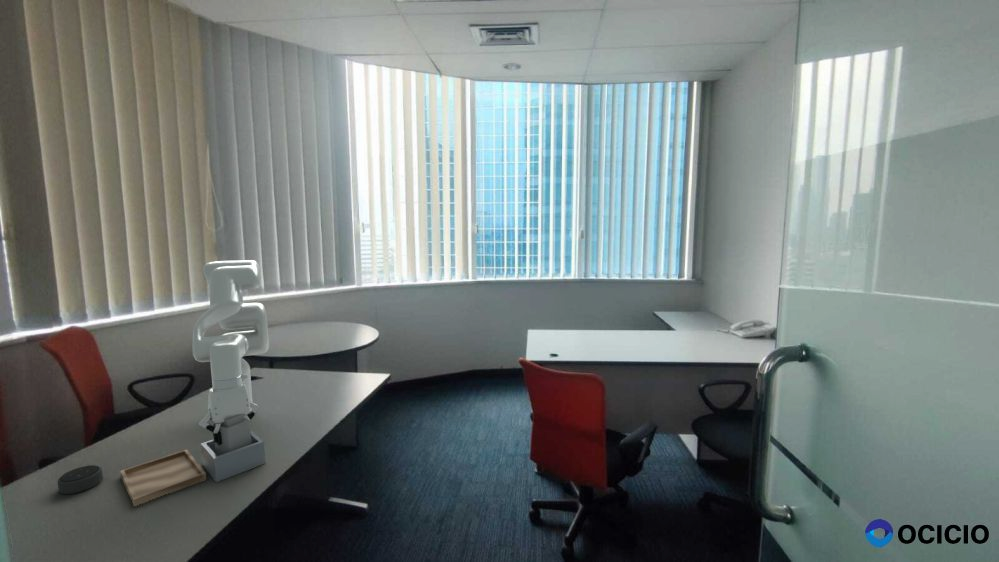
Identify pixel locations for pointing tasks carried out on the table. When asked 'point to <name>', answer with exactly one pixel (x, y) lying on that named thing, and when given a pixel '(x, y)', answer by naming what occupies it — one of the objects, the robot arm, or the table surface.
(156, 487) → the tray
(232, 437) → the perfume bottle
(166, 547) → the table surface
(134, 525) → the table surface
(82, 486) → the smart speaker
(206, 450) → the grey storage bin
